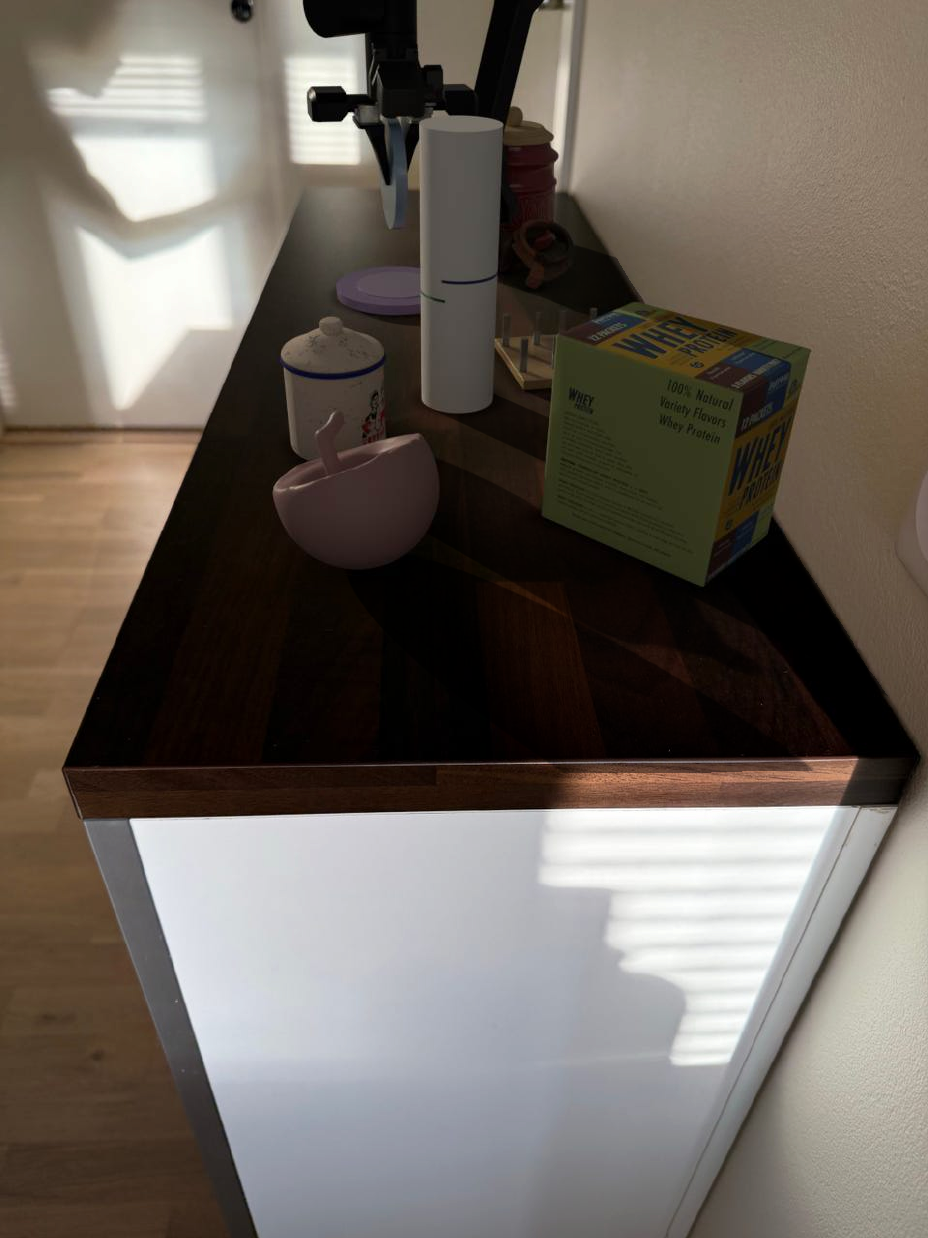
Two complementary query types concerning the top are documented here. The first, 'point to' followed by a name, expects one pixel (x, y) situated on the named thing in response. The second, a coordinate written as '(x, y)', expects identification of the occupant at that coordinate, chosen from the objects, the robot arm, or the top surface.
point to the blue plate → (395, 176)
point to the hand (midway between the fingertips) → (394, 184)
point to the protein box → (669, 436)
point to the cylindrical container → (459, 259)
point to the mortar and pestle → (360, 499)
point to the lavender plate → (382, 290)
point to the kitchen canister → (530, 172)
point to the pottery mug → (534, 251)
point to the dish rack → (532, 352)
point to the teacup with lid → (334, 387)
